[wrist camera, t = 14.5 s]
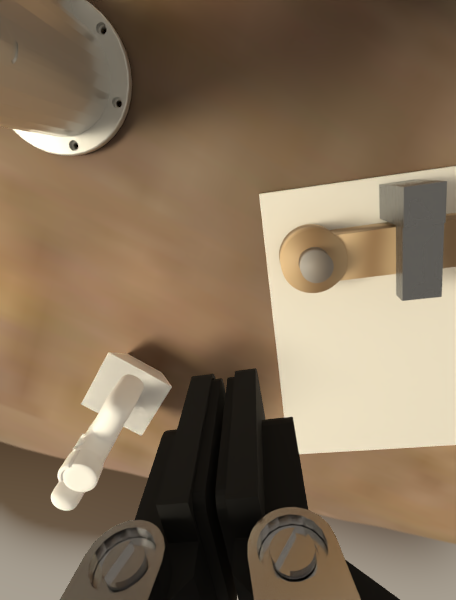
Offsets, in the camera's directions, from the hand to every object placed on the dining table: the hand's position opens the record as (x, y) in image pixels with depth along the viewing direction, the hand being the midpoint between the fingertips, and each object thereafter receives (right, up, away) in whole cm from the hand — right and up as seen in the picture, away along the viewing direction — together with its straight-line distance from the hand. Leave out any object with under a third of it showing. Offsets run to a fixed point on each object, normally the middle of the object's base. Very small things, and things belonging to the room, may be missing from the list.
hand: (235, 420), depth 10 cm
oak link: (+17, +9, +24) cm, 31 cm away
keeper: (+15, +9, +25) cm, 30 cm away
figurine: (-10, -6, +33) cm, 35 cm away
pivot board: (+20, +1, +28) cm, 34 cm away
